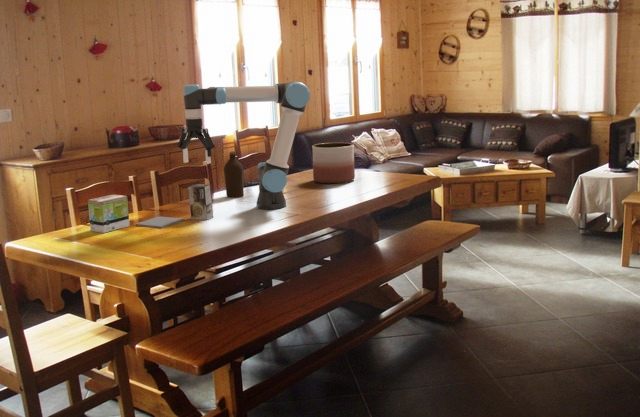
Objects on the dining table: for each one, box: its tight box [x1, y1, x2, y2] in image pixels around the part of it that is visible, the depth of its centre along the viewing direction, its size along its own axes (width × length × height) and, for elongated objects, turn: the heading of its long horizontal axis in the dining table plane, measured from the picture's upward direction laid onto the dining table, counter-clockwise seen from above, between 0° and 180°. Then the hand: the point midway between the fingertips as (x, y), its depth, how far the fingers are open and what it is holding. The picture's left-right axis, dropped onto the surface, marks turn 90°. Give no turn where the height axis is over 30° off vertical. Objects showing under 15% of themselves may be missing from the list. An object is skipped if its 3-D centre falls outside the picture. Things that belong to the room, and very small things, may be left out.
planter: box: [311, 142, 356, 185], centre depth 410 cm, size 25×25×22 cm
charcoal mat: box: [135, 216, 186, 229], centre depth 319 cm, size 16×16×1 cm
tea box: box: [87, 194, 130, 234], centre depth 310 cm, size 15×10×15 cm
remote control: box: [243, 180, 259, 189], centre depth 409 cm, size 8×32×2 cm, turn 131°
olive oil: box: [223, 150, 245, 199], centre depth 373 cm, size 11×11×25 cm
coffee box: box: [187, 184, 214, 221], centre depth 324 cm, size 9×6×16 cm
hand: (197, 163), depth 321 cm, fingers open, 13 cm apart
